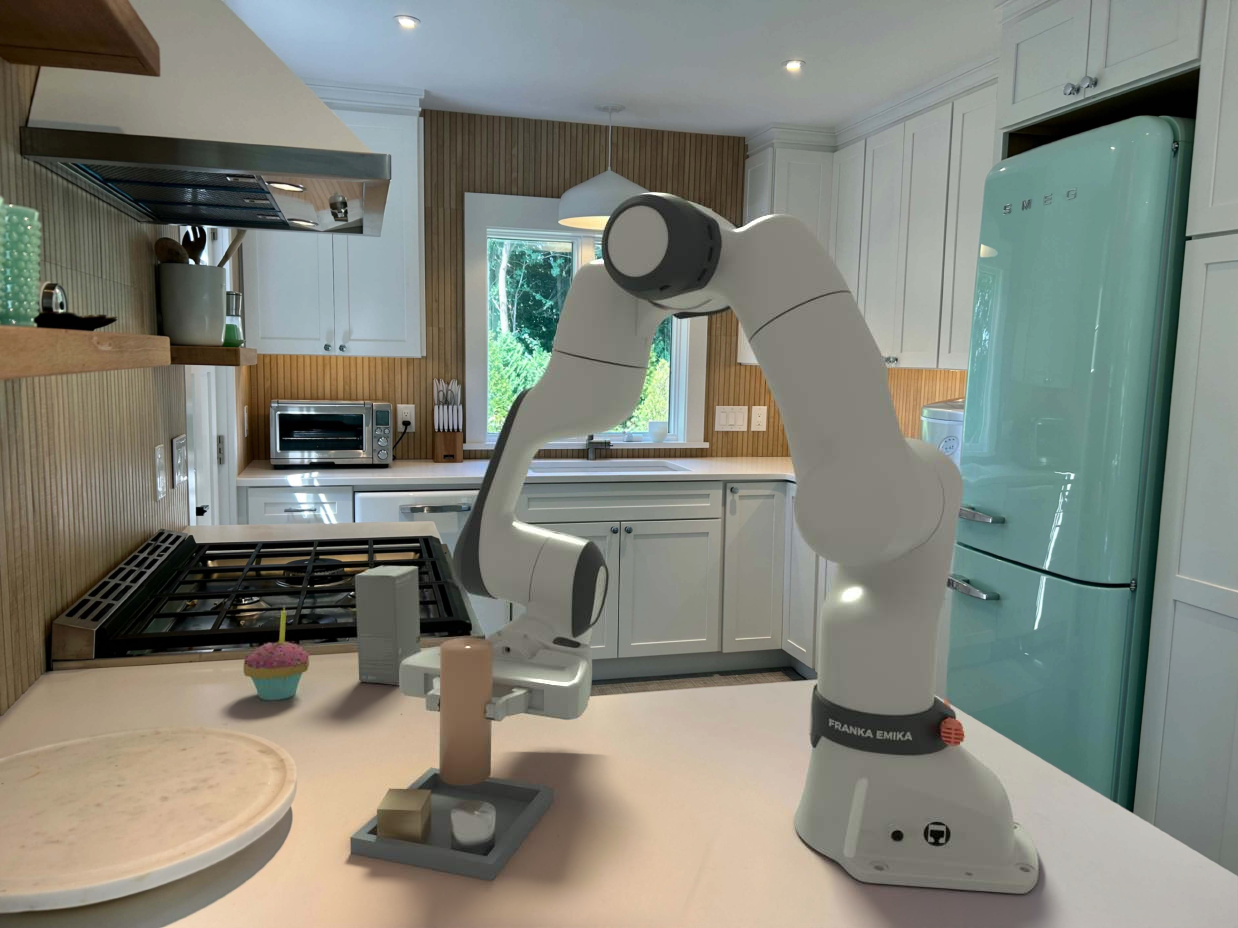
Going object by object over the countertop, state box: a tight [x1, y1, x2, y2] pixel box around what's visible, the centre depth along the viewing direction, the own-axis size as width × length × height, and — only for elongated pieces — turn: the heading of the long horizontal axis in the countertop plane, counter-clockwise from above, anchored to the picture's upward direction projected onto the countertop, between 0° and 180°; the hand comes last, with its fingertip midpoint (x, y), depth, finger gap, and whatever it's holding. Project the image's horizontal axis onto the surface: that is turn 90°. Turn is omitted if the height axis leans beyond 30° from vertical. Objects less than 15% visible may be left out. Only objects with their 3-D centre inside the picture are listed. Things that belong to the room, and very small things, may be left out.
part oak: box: [376, 788, 431, 844], centre depth 82 cm, size 4×4×4 cm
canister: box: [438, 637, 493, 786], centre depth 86 cm, size 5×5×13 cm
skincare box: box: [354, 565, 422, 686], centre depth 129 cm, size 8×7×16 cm
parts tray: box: [349, 767, 555, 882], centre depth 85 cm, size 14×15×2 cm
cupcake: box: [243, 604, 310, 701], centre depth 120 cm, size 9×8×12 cm
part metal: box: [451, 801, 495, 856], centre depth 80 cm, size 4×4×4 cm
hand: (461, 708), depth 86 cm, fingers closed on canister, 5 cm apart
